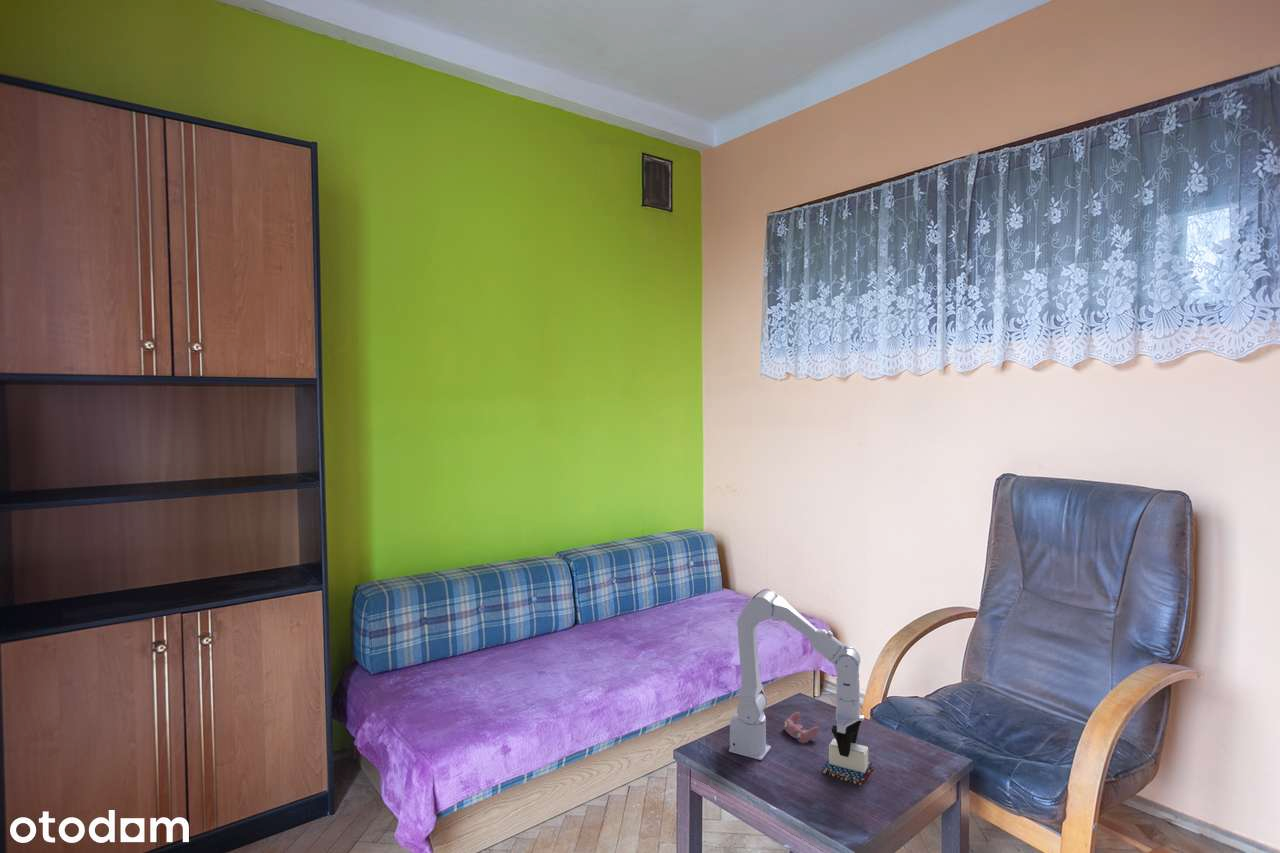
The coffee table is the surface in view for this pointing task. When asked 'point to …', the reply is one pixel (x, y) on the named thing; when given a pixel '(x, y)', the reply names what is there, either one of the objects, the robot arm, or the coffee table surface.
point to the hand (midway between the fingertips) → (847, 749)
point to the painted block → (849, 757)
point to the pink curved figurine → (799, 729)
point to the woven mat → (847, 772)
